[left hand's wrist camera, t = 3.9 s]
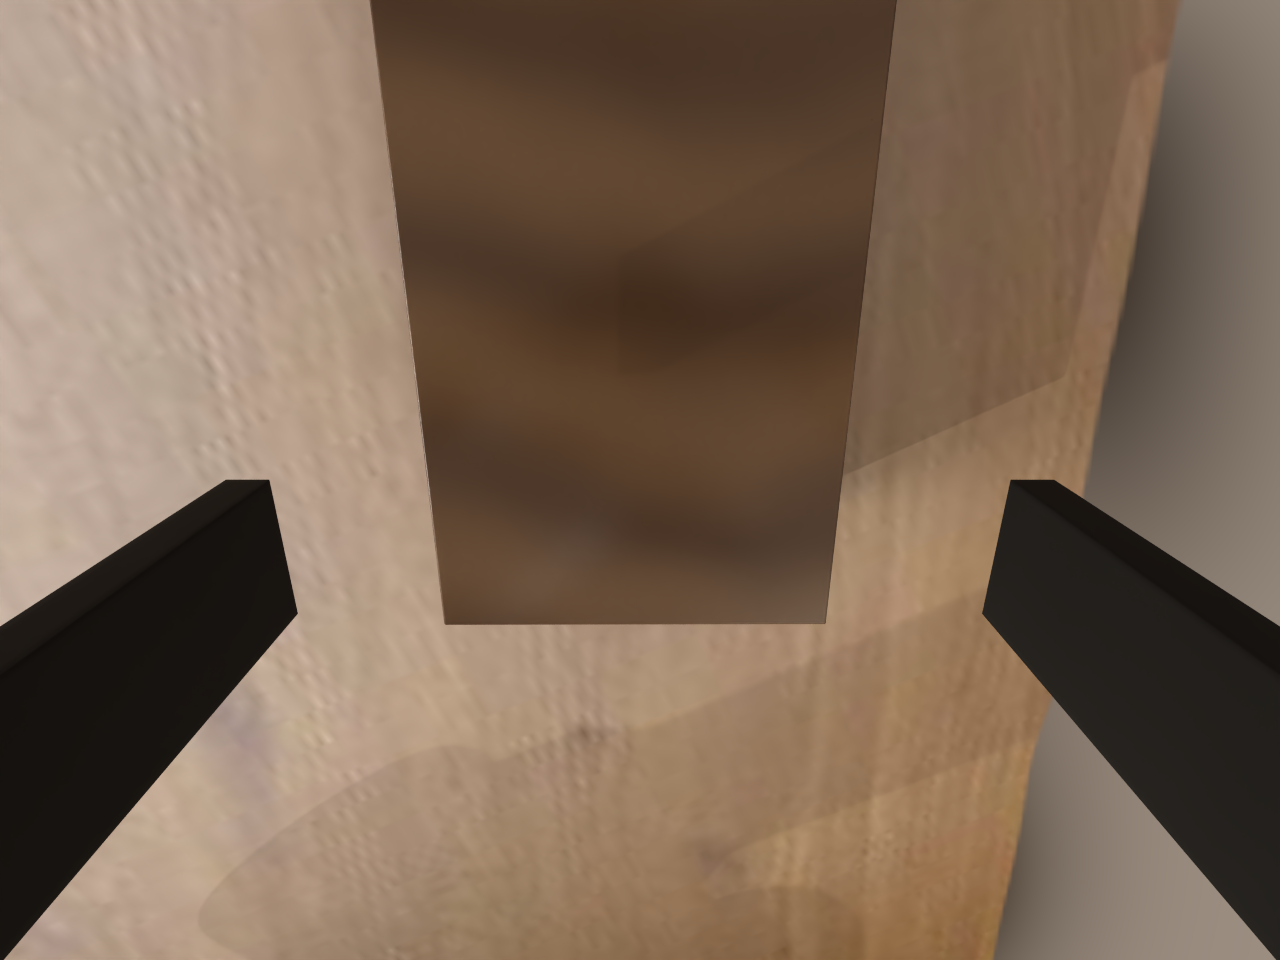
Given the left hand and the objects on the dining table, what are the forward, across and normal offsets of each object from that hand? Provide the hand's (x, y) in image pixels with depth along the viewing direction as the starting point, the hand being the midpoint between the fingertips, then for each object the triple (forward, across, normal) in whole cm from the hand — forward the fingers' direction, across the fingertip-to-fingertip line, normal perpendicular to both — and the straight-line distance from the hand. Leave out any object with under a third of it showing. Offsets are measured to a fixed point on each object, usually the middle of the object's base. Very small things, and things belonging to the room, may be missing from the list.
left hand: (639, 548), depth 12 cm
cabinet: (+13, 0, -4) cm, 14 cm away
